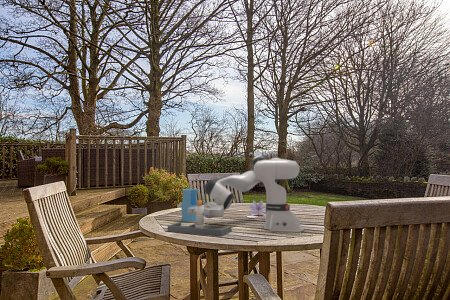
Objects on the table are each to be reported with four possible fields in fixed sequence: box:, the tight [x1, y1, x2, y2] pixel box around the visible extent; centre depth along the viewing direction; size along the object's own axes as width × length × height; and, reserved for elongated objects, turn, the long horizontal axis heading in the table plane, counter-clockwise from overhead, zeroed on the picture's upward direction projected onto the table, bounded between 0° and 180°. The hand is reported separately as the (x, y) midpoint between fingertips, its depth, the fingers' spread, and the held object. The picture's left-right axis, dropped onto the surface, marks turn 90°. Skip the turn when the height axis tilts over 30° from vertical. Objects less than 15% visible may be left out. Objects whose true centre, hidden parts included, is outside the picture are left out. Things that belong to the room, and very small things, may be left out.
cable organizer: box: [167, 221, 233, 237], centre depth 193 cm, size 32×14×3 cm, turn 67°
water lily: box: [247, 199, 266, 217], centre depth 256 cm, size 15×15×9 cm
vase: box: [180, 188, 199, 223], centre depth 229 cm, size 8×8×20 cm
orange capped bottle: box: [194, 199, 206, 228], centre depth 194 cm, size 5×5×14 cm
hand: (199, 213), depth 193 cm, fingers closed on orange capped bottle, 4 cm apart
